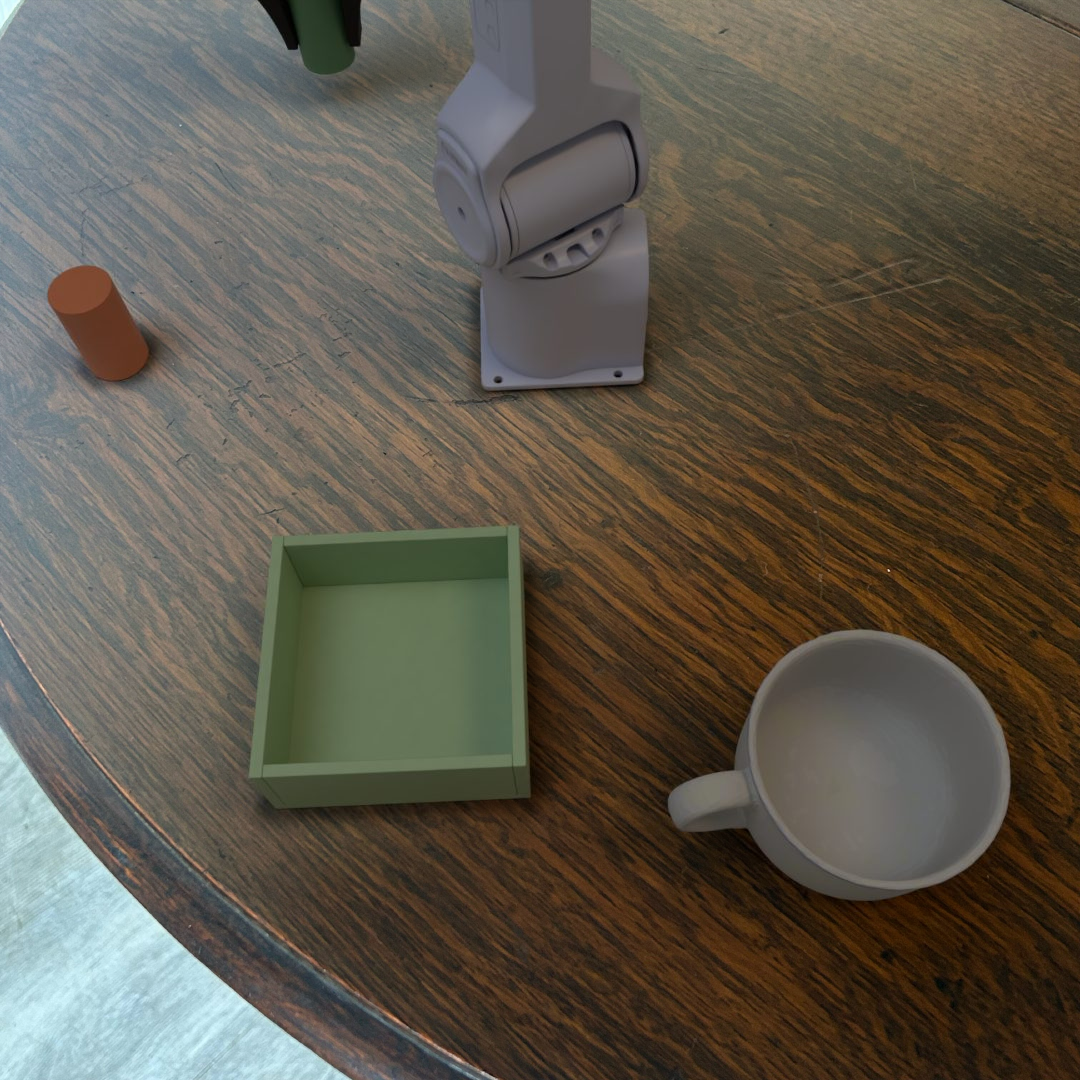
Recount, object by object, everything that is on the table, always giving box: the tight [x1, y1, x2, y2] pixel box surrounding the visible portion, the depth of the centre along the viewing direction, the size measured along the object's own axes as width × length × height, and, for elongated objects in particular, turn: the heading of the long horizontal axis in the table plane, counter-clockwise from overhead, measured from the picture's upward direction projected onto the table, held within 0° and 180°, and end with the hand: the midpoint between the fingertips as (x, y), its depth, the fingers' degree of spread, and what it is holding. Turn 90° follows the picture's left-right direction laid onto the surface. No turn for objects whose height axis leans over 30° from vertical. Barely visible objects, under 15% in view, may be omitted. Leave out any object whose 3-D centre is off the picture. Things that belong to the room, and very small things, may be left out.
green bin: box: [248, 524, 532, 810], centre depth 52 cm, size 12×12×5 cm
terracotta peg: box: [46, 264, 150, 382], centre depth 63 cm, size 4×4×6 cm
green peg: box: [288, 0, 356, 75], centre depth 71 cm, size 4×4×6 cm
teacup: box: [667, 628, 1012, 902], centre depth 47 cm, size 14×11×8 cm
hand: (325, 39), depth 73 cm, fingers closed on green peg, 3 cm apart
